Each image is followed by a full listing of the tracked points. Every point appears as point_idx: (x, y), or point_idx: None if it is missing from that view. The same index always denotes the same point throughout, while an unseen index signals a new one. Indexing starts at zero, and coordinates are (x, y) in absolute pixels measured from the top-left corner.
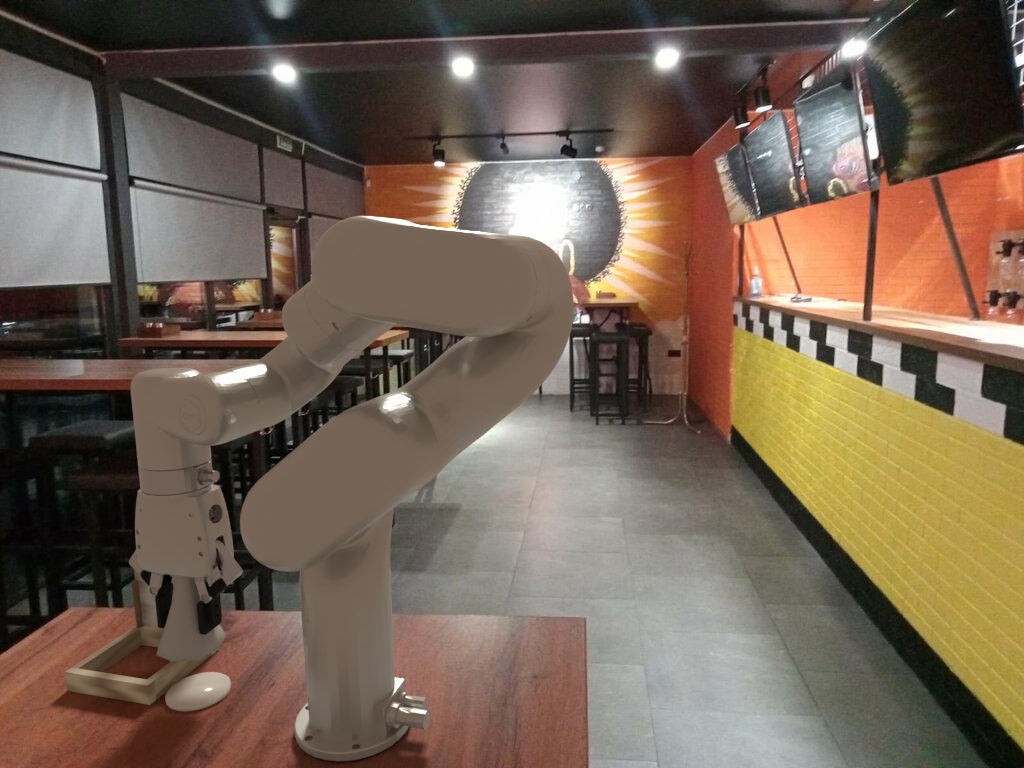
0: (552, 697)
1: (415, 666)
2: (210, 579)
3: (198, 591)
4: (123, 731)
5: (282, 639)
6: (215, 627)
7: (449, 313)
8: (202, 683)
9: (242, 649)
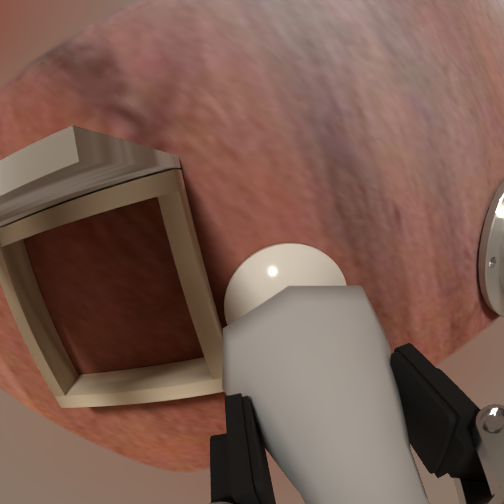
0: None
1: None
2: (488, 474)
3: (459, 499)
4: None
5: (289, 62)
6: (385, 348)
7: None
8: (280, 290)
9: (233, 133)
